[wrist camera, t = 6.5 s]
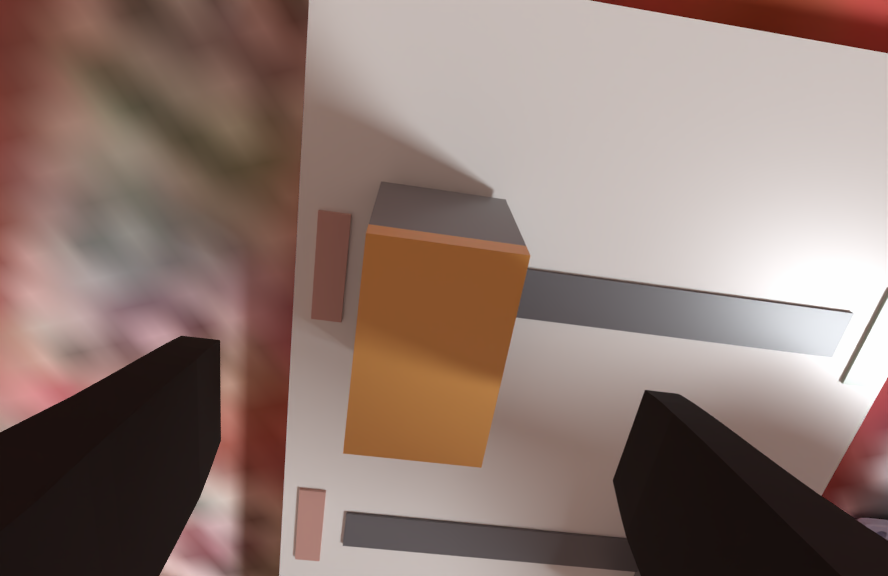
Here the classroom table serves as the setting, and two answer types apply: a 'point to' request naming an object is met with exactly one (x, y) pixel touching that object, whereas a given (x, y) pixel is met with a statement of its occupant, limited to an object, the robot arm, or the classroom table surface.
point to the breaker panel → (587, 262)
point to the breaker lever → (433, 324)
